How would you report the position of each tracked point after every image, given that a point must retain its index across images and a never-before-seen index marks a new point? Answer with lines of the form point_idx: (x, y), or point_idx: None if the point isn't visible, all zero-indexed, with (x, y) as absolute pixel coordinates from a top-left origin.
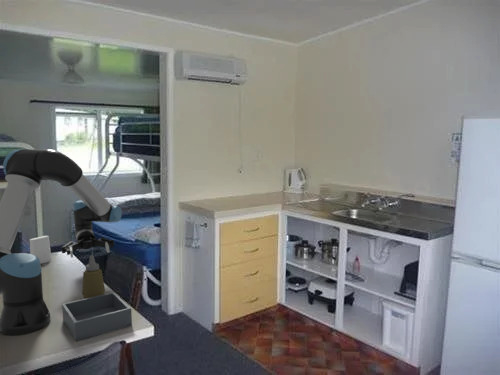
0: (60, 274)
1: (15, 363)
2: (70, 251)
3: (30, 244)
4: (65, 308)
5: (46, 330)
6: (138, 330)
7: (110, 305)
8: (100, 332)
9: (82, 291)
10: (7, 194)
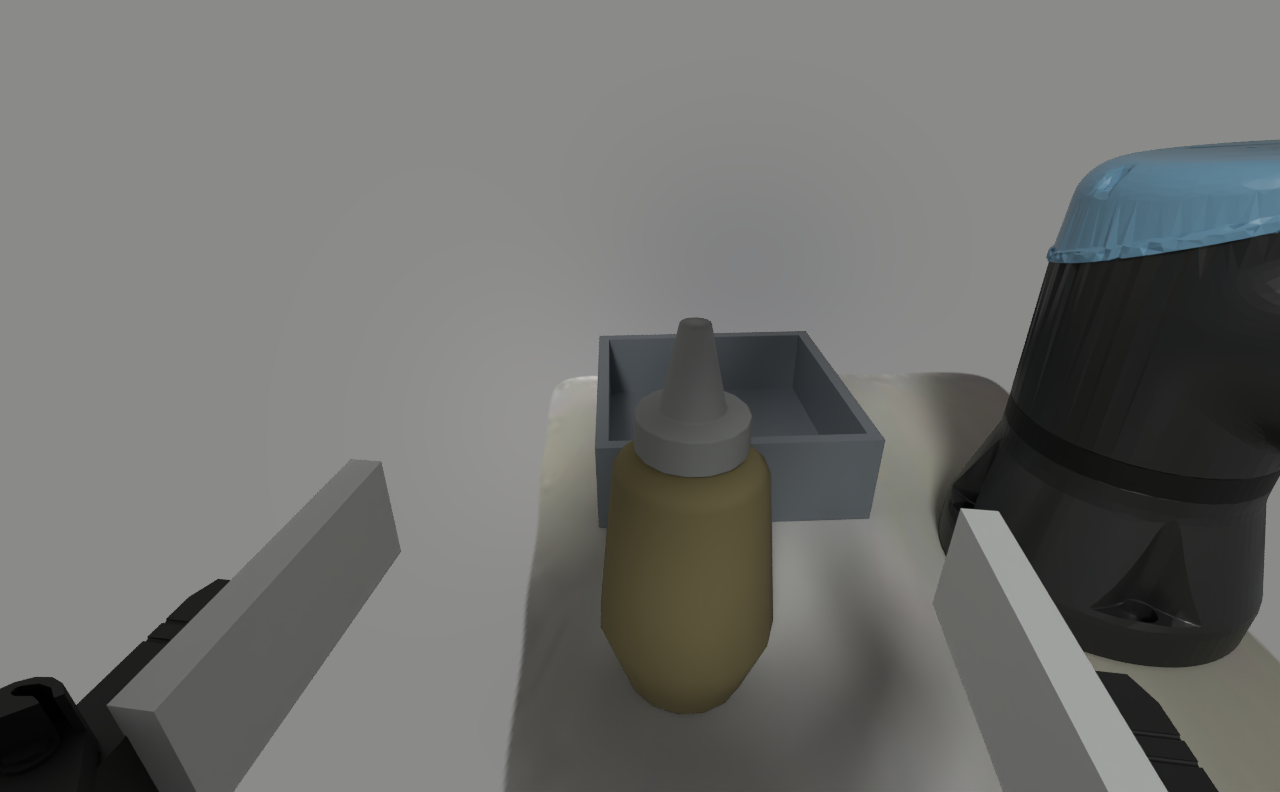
0: None
1: (962, 375)
2: (995, 519)
3: None
4: (856, 403)
5: (929, 479)
6: (597, 376)
7: None
8: None
9: (772, 601)
10: None
